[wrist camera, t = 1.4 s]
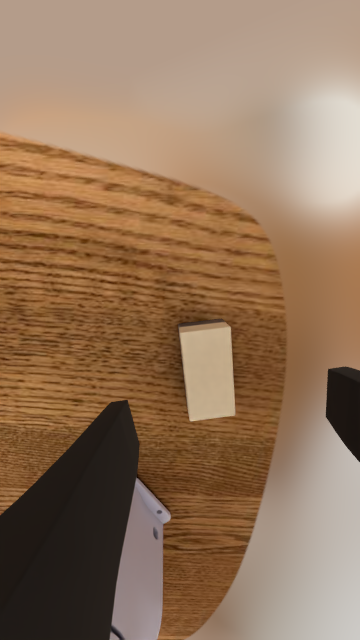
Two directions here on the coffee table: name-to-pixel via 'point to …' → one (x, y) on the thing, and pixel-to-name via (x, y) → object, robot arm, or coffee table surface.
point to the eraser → (207, 368)
